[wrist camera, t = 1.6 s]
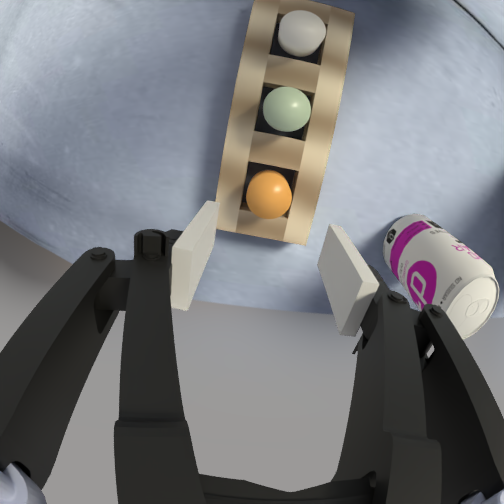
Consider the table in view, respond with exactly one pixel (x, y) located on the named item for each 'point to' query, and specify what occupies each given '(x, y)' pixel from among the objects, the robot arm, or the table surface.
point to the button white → (301, 33)
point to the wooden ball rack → (275, 146)
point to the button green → (286, 109)
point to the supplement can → (441, 272)
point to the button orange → (268, 194)
